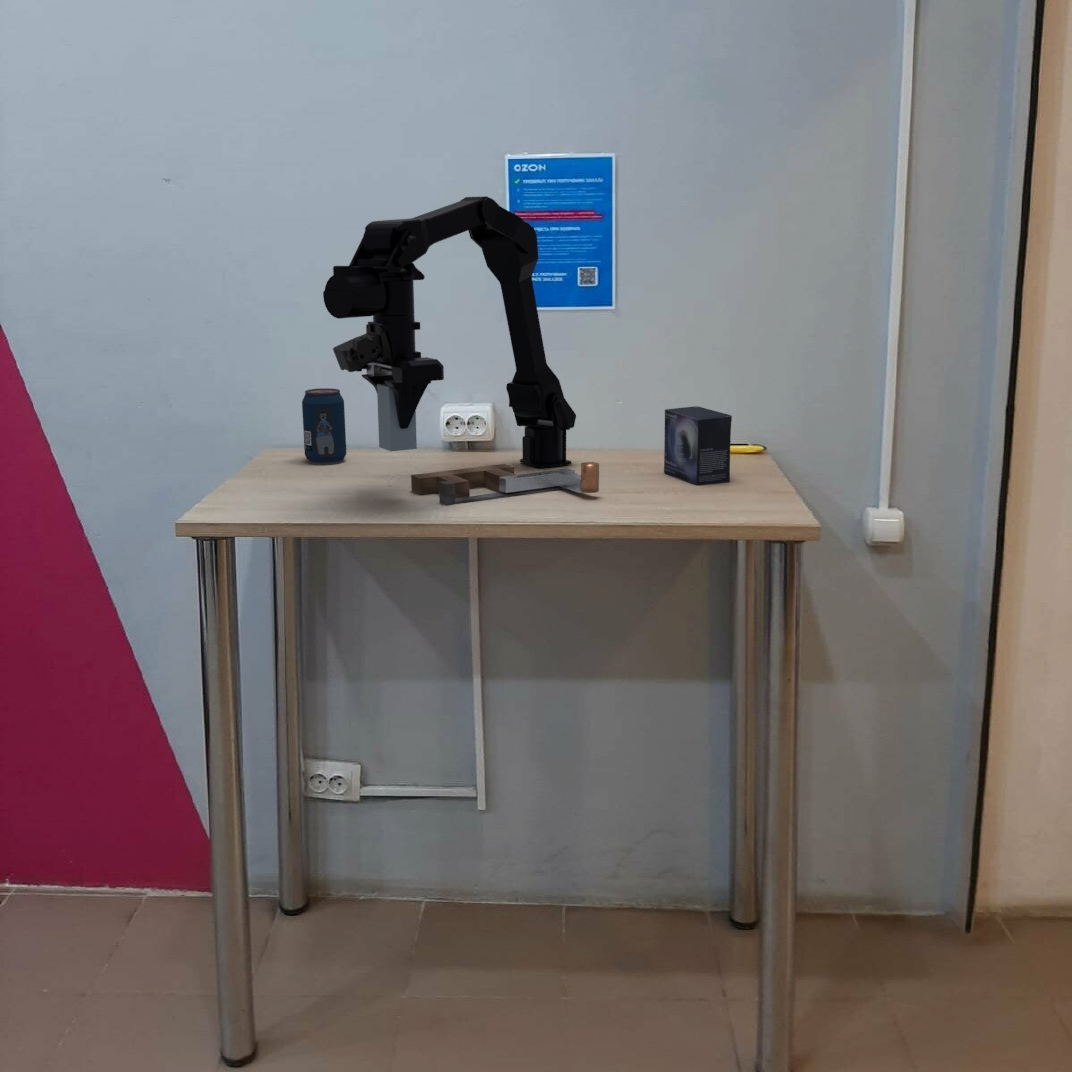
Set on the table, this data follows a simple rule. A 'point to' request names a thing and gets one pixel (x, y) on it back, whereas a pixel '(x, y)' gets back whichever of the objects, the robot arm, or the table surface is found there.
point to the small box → (697, 445)
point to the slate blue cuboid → (393, 423)
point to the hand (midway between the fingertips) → (397, 426)
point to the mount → (467, 483)
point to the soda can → (324, 426)
